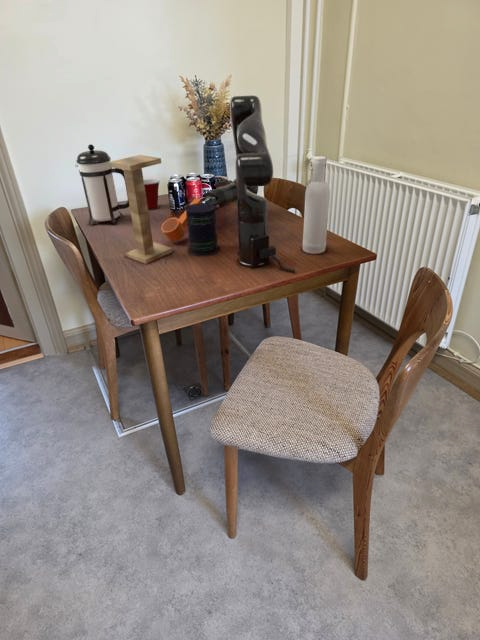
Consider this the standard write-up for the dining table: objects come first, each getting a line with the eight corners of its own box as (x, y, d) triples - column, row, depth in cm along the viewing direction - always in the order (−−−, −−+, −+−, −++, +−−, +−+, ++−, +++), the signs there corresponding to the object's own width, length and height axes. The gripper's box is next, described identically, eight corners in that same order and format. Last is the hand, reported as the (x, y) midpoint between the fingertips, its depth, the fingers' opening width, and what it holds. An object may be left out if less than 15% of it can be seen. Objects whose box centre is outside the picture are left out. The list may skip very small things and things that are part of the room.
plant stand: (153, 245, 151) (139, 154, 135) (172, 251, 146) (160, 158, 129) (126, 256, 144) (108, 161, 127) (146, 263, 138) (129, 165, 122)
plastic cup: (165, 203, 194) (162, 177, 188) (159, 211, 185) (156, 183, 179) (143, 204, 195) (139, 177, 189) (136, 211, 186) (131, 183, 180)
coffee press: (97, 230, 167) (80, 150, 151) (82, 220, 178) (64, 144, 162) (136, 219, 176) (124, 143, 160) (119, 211, 187) (106, 138, 171)
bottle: (318, 243, 148) (324, 153, 132) (330, 251, 142) (338, 158, 126) (298, 247, 146) (302, 156, 130) (309, 255, 139) (314, 161, 123)
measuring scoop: (193, 201, 158) (187, 191, 154) (207, 205, 154) (201, 194, 150) (164, 239, 153) (157, 230, 149) (178, 243, 149) (171, 234, 145)
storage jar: (192, 257, 141) (188, 213, 134) (187, 246, 150) (182, 205, 142) (221, 253, 144) (218, 210, 136) (214, 242, 152) (211, 201, 144)
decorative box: (241, 199, 197) (240, 178, 191) (208, 209, 185) (207, 187, 180) (222, 194, 205) (221, 173, 200) (190, 203, 193) (188, 182, 188)
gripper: (205, 185, 165) (173, 196, 154) (232, 190, 158) (201, 202, 147) (206, 204, 169) (175, 216, 158) (233, 210, 162) (203, 223, 151)
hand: (188, 209), depth 152 cm, fingers closed on measuring scoop, 3 cm apart
